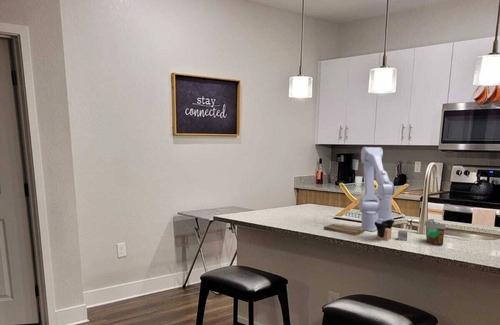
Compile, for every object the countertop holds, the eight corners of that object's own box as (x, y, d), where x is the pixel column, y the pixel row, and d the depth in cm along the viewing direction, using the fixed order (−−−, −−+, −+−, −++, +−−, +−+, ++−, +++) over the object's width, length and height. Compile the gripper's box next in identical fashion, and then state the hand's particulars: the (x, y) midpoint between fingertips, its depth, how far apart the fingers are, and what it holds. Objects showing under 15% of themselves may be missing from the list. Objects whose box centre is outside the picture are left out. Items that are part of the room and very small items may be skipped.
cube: (381, 237, 188) (381, 227, 187) (391, 239, 184) (391, 228, 184) (377, 239, 184) (377, 228, 183) (387, 240, 180) (387, 230, 180)
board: (333, 226, 209) (333, 223, 209) (364, 232, 197) (364, 229, 197) (323, 229, 202) (324, 226, 202) (355, 235, 190) (355, 232, 190)
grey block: (397, 238, 186) (398, 230, 186) (406, 239, 184) (407, 231, 184) (398, 240, 182) (398, 232, 182) (407, 241, 181) (407, 232, 180)
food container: (419, 239, 185) (420, 218, 184) (432, 239, 184) (433, 219, 184) (430, 246, 172) (431, 224, 172) (444, 246, 172) (445, 224, 172)
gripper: (387, 211, 175) (386, 240, 176) (399, 207, 186) (397, 234, 187) (372, 209, 180) (371, 237, 180) (384, 205, 191) (383, 232, 191)
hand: (384, 235), depth 184 cm, fingers open, 7 cm apart
